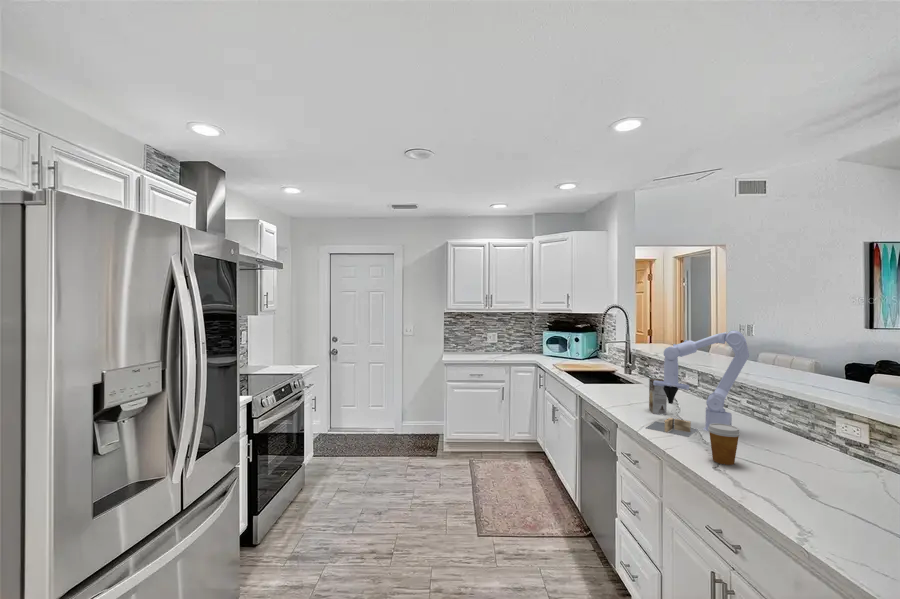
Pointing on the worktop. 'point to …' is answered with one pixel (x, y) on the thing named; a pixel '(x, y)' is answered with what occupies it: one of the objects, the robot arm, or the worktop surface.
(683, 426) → the block
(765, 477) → the worktop surface
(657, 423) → the card
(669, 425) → the hinged panel
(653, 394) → the coffee box
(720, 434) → the disposable coffee cup
